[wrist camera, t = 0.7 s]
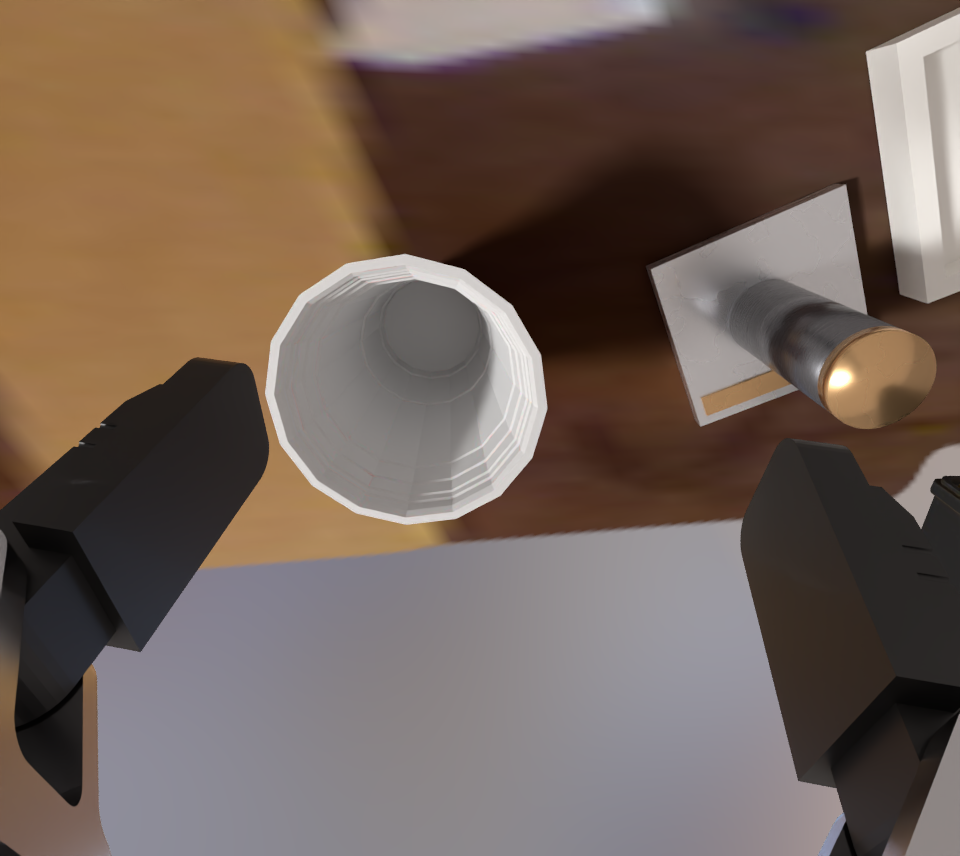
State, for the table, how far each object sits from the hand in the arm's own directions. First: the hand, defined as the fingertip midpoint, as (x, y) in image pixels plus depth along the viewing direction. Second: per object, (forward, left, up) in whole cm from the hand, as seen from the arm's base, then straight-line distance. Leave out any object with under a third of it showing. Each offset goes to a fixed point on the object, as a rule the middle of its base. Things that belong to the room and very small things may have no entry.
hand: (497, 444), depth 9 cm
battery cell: (+10, +12, -23) cm, 28 cm away
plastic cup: (+3, -5, -24) cm, 25 cm away
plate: (+10, +12, -24) cm, 29 cm away
